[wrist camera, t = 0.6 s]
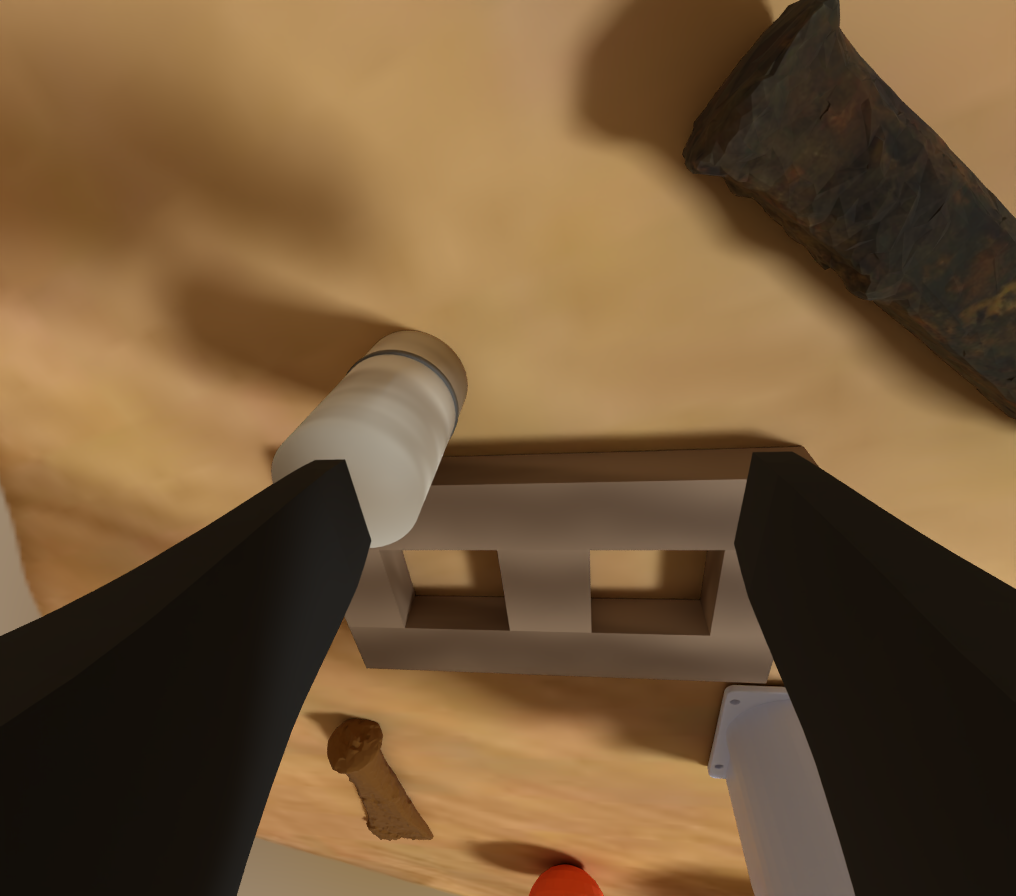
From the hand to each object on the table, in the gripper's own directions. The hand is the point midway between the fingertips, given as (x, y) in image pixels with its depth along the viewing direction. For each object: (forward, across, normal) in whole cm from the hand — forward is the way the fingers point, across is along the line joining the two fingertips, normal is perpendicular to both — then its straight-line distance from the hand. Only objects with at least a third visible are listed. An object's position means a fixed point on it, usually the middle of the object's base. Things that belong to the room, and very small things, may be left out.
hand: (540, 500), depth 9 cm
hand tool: (+10, -12, -1) cm, 16 cm away
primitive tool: (+10, +14, +36) cm, 40 cm away
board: (+10, +1, +11) cm, 15 cm away
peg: (+10, +5, +2) cm, 11 cm away
